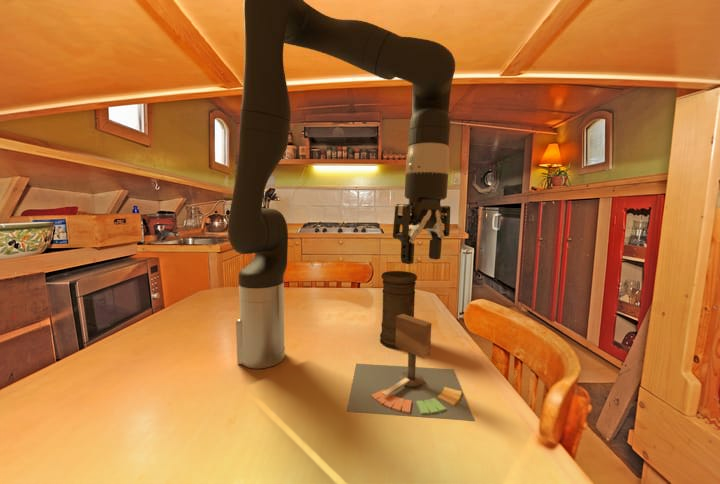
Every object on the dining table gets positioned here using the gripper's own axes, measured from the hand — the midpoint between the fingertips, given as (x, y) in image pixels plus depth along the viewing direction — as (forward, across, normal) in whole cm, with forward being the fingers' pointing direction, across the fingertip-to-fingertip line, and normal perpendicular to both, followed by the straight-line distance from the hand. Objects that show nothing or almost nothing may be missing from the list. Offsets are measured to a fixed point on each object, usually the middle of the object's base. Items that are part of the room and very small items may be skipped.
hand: (421, 261), depth 56 cm
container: (+24, +9, +12) cm, 29 cm away
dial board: (+24, -4, -2) cm, 24 cm away
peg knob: (+23, -5, -1) cm, 23 cm away
